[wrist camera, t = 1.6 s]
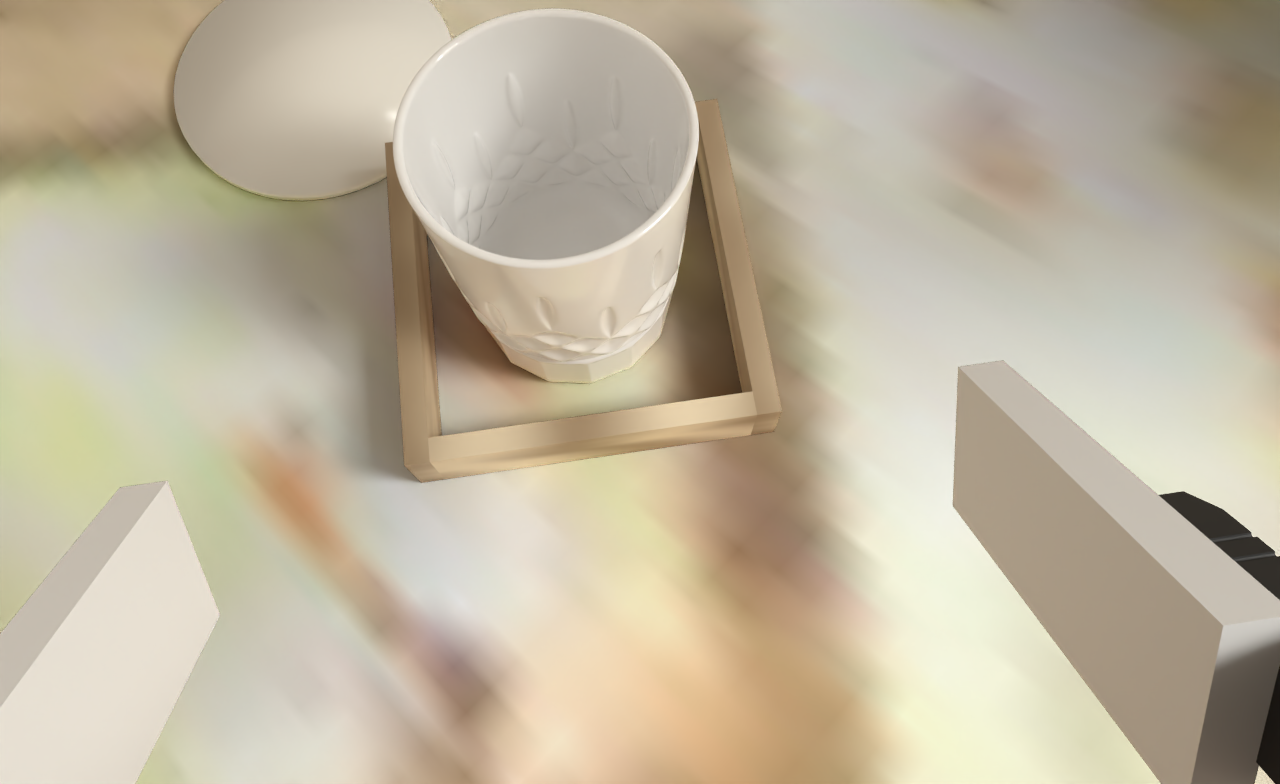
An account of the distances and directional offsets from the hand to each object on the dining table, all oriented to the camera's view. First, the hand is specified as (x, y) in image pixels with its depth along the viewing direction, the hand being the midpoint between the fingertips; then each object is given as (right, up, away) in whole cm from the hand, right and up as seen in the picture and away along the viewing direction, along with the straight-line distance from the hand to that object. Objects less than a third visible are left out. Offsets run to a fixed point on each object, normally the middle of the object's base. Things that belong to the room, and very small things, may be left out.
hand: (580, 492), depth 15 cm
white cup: (-1, +5, +18) cm, 18 cm away
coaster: (-12, +14, +21) cm, 28 cm away
